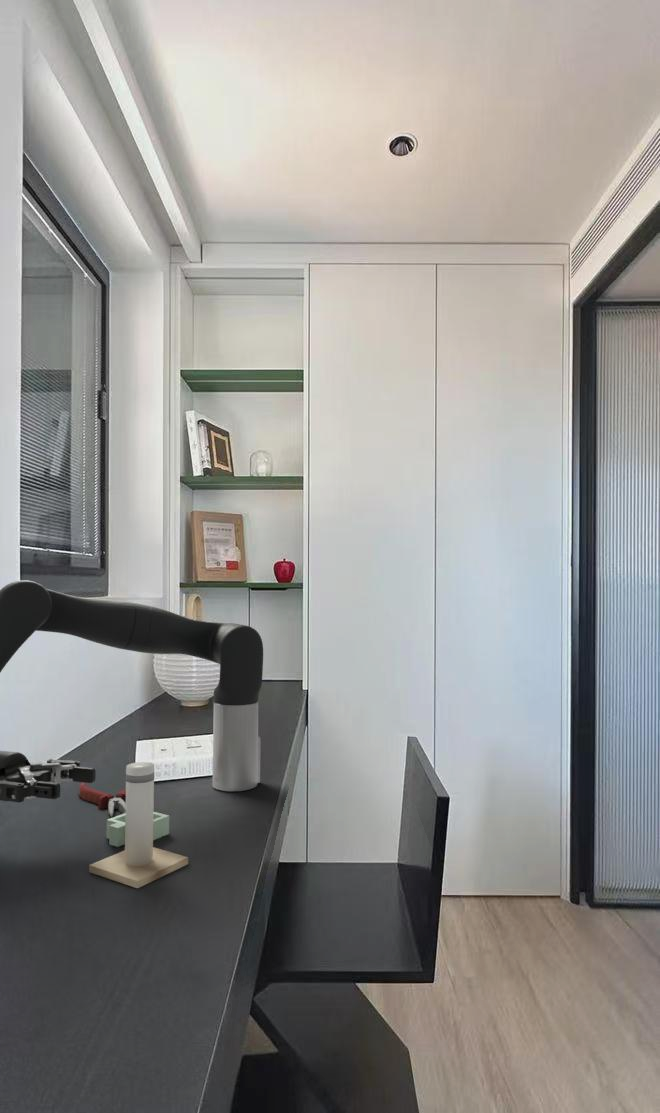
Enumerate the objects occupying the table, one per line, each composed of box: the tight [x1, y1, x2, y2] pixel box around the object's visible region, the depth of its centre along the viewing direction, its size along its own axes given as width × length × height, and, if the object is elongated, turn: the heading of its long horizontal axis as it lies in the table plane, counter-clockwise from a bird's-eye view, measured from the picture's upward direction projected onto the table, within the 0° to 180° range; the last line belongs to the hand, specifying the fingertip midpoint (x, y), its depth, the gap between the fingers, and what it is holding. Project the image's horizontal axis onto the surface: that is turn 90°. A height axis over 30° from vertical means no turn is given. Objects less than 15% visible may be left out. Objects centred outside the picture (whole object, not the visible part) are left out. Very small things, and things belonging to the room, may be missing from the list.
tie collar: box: [105, 811, 170, 848], centre depth 117 cm, size 9×7×3 cm
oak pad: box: [88, 846, 189, 889], centre depth 105 cm, size 10×10×1 cm
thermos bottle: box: [124, 761, 155, 867], centre depth 105 cm, size 4×4×14 cm
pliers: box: [78, 782, 126, 818], centre depth 135 cm, size 12×20×3 cm, turn 23°
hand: (77, 783), depth 109 cm, fingers open, 8 cm apart
